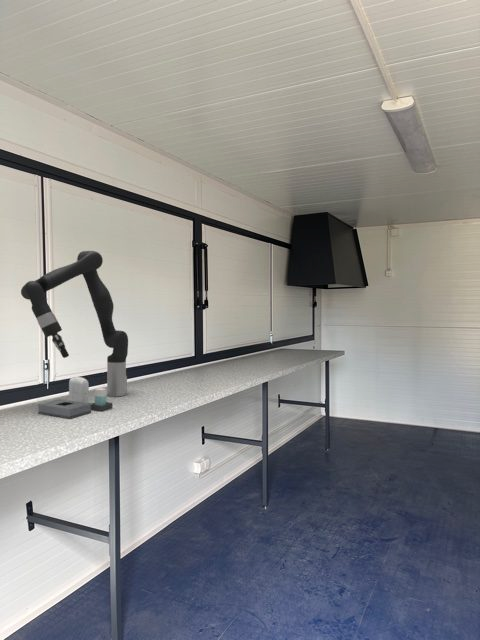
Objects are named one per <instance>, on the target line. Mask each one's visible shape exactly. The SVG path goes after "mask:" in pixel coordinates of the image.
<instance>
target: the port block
mask: <svg viewBox="0 0 480 640" xmlns="http://www.w3.org/2000/svg"><path fill="white" fill-rule="evenodd" d="M91 404H92V402H88V403H84V402H77V401H70V400H69V399H63V398H59V399H55V400H52V401H48V402H43V403H38V405H37V406H38V407H37V409H38V412H37V413H38V415H44V416H51V417H56V418H61V419H62V418H63V419H68V420H72V419H74V418H77V417H81V416H85V415H88V414H91V413H92V410H91Z"/></svg>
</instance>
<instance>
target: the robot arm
mask: <svg viewBox="0 0 480 640" xmlns="http://www.w3.org/2000/svg"><path fill="white" fill-rule="evenodd" d="M103 260H104V259H103V257H102V254H101V253H100V252H97V251H94V250H83V251H80V252H79V253H78V255H77V258H76V261H75V262H73V263H70V264H68V265H63V266H62V267H61V266H60V267H58V268H56V269H53V270H51V271H49V272H47V273H45V274H43V275H42V276H40V277H39V278H37V279H35V280H29V281H27V282H26V283H25V284H24V285H23V286H22V288H21V290H20V294H21V296H22V297H23V299H25V300H29V301H30V303H31V310H32V312H33V315H34V316H35V319H36V321H37V323H38V325H39V328H40V329H41V331H42V333H43V335H44V337H46V338H49V337H51V338H52V339H51V340H52V343H53V344H54V346H55V348H57V350H58V351H59V353H60V355H61V356H62V358H64V359H65V358H68V357H69V356H70V355H69V352H68V350H67V348H66V344H65V342H64V340H63V337H62V336H61V335H60V334H59V333H60V332H61V331H63V328H62V327H61V325H60V323H59V321H58V319H57V317H56V315H55V314H54V313H53V311H52V309H51V307H50V305H49V303H48V301H47V297H46V293H47V292H48V291H51V290H53V289H55V288H57V287H58V286H61V285H62V284H64V283H66V282H68V281H70V280H72V279H74V278H76V277H79V276H82V277H83V279H84V281H85V284H86V288H87V289H88V292H89V295H90V297H91V302H92V304H93V307H94V310H95V312H96V316H97V318H98V321H99V325H100V329H101V335H102V339H103V342H104V344H105V345H106V347H108V348H111V349H112V353H111V354H110V355H108V356H107V359H106V361H107V362H106V365H107V369H106V370H107V371H106V373H107V374H106V377H107V378H106V379H107V380H106V383H107V384H106V387H107V388H106V389H107V397H112V398H113V397H114V398H116V397H124V396H126V395H127V394H128V376H127V357H128V355H129V354H128V352H129V349H128V348H129V336H128V334H127V332H125V330H124V331H123V330H117V329H116V327H115V325H114V322H113V313H114V307H115V306H114V302H113V299H112V294H111V293H110V291H109V289H108V288H107V286H106V285H105V283H103V281H102V279H101V278H100V276H99V273H98V269H100V268H101V267H102V264H103V262H104V261H103Z"/></svg>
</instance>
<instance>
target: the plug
mask: <svg viewBox="0 0 480 640" xmlns="http://www.w3.org/2000/svg"><path fill="white" fill-rule="evenodd" d="M107 398H108V396H107V388H102V387H99V388H96V389H94V403H95V405H104V404H107V402H108V401H107Z"/></svg>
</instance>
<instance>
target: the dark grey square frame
mask: <svg viewBox="0 0 480 640" xmlns="http://www.w3.org/2000/svg"><path fill="white" fill-rule="evenodd" d="M112 409H113V402H109V401H107V404H104V405H95V402H91V411H94V412H95V411H96V412H105V411H108V410H112Z"/></svg>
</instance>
